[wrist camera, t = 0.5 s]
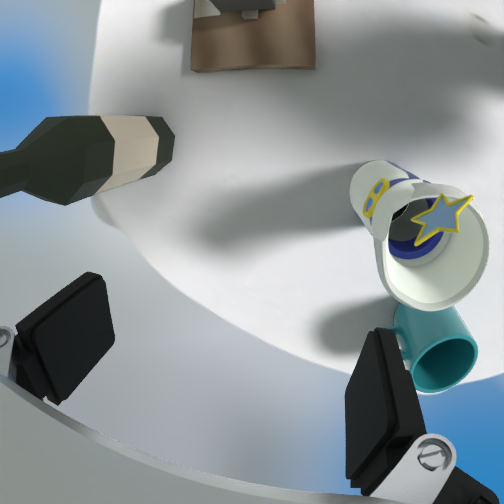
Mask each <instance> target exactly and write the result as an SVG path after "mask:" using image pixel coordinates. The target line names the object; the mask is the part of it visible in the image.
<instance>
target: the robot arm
mask: <svg viewBox="0 0 504 504" xmlns="http://www.w3.org/2000/svg"><path fill="white" fill-rule="evenodd" d="M15 326H16V329H17V332H18V334H17V335H16V336H15V334H14V332H13V330H12V329H11V328H9V327H6V326H1V327H0V504H499V499H498V498H497V496H496V494H495V493H494V492H493V491H492V490H490V489H488V488H487V487H485V486H484V485H482V484H481V483H480V482H478V481H476V480H475V479H473V478H472V477H471V476H469V475H468V474H466V473H465V472H463V471H462V470H461V469H459V468H458V467H456V466H455V463H456V460H457V459H456V451H455V448H454V446H453V445H452V443H451V442H450V441H449V440H448V439H446V438H445V437H443V436H441V435H438V434H427V432H426V428H425V424H424V420H423V415H422V411H421V408H420V404H419V400H418V396H417V393H416V389H415V385H414V382H413V378H412V375H411V373H410V371H408V370H406V369H405V365H404V362H403V359H402V355H401V352H400V349H399V345H398V342H397V339H396V336H395V333H394V331H393V330H392V329H385V328H376V329H375V330H374V332H373V331H370V332H369V333H368V335H367V338H366V341H365V343H364V346H363V348H362V351H361V354H360V356H359V359H358V361H357V364H356V366H355V369H354V371H353V373H352V376H351V378H350V381H349V383H348V385H347V388H346V391H345V422H346V479H351V488H361V494H362V495H363V496H358V495H344V494H333V493H318V492H309V491H299V490H292V489H284V488H278V487H272V486H266V485H260V484H254V483H249V482H244V481H239V480H234V479H230V478H226V477H222V476H217V475H213V474H210V473H206V472H203V471H199V470H196V469H192V468H189V467H185V466H182V465H179V464H176V463H173V462H170V461H167V460H164V459H161V458H159V457H156V456H153V455H150V454H147V453H145V452H143V451H140V450H138V449H135V448H133V447H130V446H128V445H126V444H123V443H121V442H119V441H116V440H114V439H112V438H110V437H108V436H105V435H103V434H101V433H99V432H97V431H95V430H93V429H91V428H89V427H87V426H85V425H83V424H81V423H79V422H78V421H76V420H74V419H72V418H70V417H68V416H66V415H65V414H63V413H61V412H60V411H58V410H56V409H54V408H53V407H51V406H50V405H48V404H46V403H45V402H43V398H44V397H45V396H47V399H48V400H49V401H51V402H53V403H54V404H56V405H57V406H58V405H59V404H60V403H61V402H62V401H63V400H66V399H67V398H68V397H69V396H70V395H71V393H72V392H73V391H74V390H75V389H76V387H77V386H78V385H79V384H80V383H81V382H82V380H83V379H84V378H85V377H86V376H87V374H88V373H89V372H90V371H91V370H92V369H93V367H94V366H95V365H96V364H97V363H98V362H99V360H100V359H101V358H102V357H103V356H104V355H105V354H106V352H107V351H108V350H109V349H110V348H111V347H112V345H113V344H114V341H115V334H114V329H113V324H112V319H111V314H110V308H109V302H108V295H107V289H106V283H105V281H104V280H103V278H102V276H101V275H99V274H95V273H92V272H86V273H84V274H83V275H81V276H80V277H79V278H77V279H76V280H74V281H73V282H72V283H70V284H69V285H67V286H66V287H65V288H63V289H62V290H61V291H59V292H58V293H56V294H55V295H54V296H52V297H51V298H50V299H49V300H47V301H46V302H44V303H43V304H42V305H40V306H39V307H38V308H37V309H35V310H34V311H33V312H31V313H30V314H29V315H28V316H26V317H25V318H24V319H23V320H21V321H20V322H19V323H17V324H16V325H15Z"/></svg>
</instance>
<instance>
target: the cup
mask: <svg viewBox="0 0 504 504" xmlns="http://www.w3.org/2000/svg"><path fill="white" fill-rule="evenodd" d="M386 329H392V330H393V331H394V333H395V335H396V336H397V339H398V342H399V346H400V352H401V355H402V359H403V360H404V363H405V367H406V370H408V371H410V373H411V375H412V378H413V382H414V385H415V389H416V390H418V391H420V392H424V393H435V392H440V391H443V390H446V389H448V388H451V387H452V386H454V385H456V384H457V383H459V382H460V381H461V380H462V379H464V378H465V377H466V376H467V375H468V373H469V372H470V371H471V370H472V368H473V366H474V365H475V362H476V360H477V356H478V346H477V343H476V341H475V340H474V338H473V336H472V335H471V333H470V331H469V329H468V328H467V326H466V325H465V323H464V321H463V320H462V318H461V316H460V315H459V313H458V312H457V310H456V309H455V307H454V305H453V306H451V307H448V308H446V309H443V310H438V311H422V310H419V309H415V308H411V307H408V306H406V305H404V304H402V303H400V304H399V306H398V308H397V310H396V312H395V315H394V326H391V327H388V328H386Z"/></svg>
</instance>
